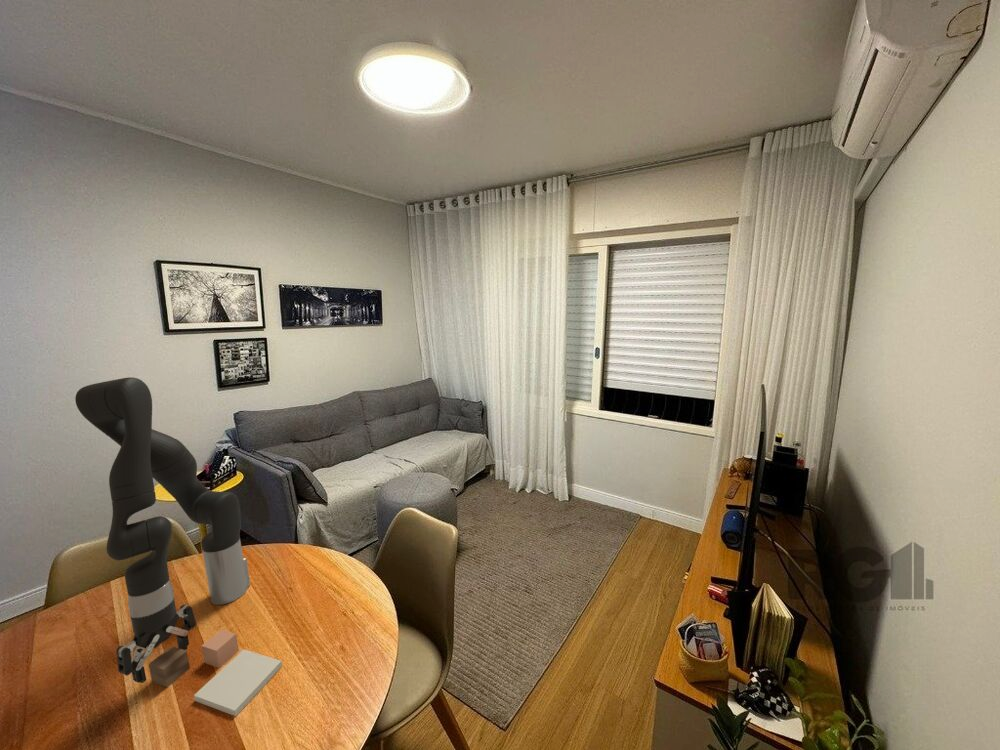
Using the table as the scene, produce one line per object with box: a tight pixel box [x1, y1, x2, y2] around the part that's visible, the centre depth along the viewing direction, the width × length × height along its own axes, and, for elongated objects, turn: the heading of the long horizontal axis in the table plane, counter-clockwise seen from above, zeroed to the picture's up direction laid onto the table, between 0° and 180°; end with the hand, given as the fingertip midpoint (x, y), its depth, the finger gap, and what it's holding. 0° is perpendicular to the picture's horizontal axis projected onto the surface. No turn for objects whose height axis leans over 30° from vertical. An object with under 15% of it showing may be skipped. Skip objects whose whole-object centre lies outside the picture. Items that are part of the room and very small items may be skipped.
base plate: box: [193, 649, 283, 717], centre depth 88 cm, size 12×12×2 cm
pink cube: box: [201, 629, 240, 669], centre depth 95 cm, size 5×5×5 cm
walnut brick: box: [148, 645, 191, 688], centre depth 90 cm, size 5×5×5 cm
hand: (163, 664), depth 90 cm, fingers open, 8 cm apart
